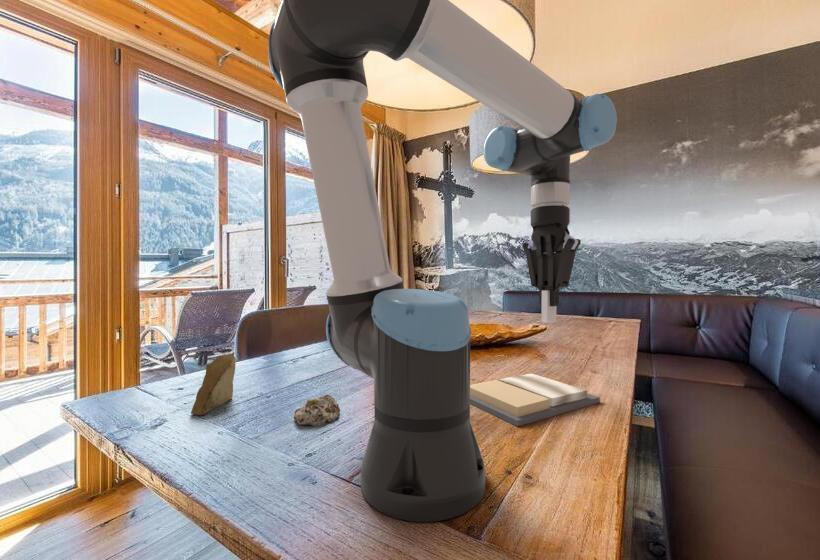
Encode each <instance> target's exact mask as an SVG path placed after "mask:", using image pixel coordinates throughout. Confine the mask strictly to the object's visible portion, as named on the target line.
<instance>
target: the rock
mask: <svg viewBox="0 0 820 560" xmlns="http://www.w3.org/2000/svg"><path fill="white" fill-rule="evenodd" d="M236 360H237V359H236V357H235V356H234V355H233V354H232V353H226V354H224V353H223V354H222V355H219V356H218V357H217V358H215V359H213V360H212V362H210V363H209V364H207V365H206V366H205V374H204V377H203V380H202V385H201V386H200V387H199V388H198V391H197V393H196V397H195V402H194V404H192V408H191V411H190V414H192V415H198V416H203V415H205V414H207V413H208V412H210V411H212V410H214V409H215V408H218V407H220V406H222V405H223V404H226V402H228V401H230V400H232V398H233V395H234V377H235V372H236Z"/></svg>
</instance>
